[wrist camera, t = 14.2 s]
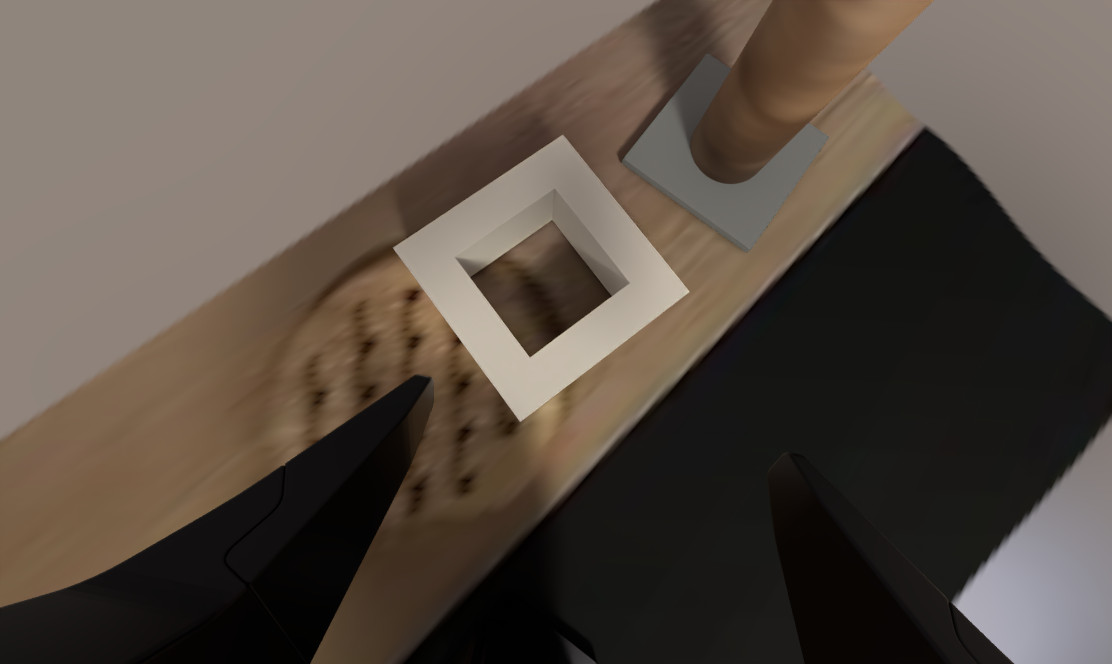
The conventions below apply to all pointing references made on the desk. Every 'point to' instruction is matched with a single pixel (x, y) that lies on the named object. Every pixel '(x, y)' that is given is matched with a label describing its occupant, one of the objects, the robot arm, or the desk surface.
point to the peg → (791, 78)
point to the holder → (503, 222)
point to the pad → (716, 204)
